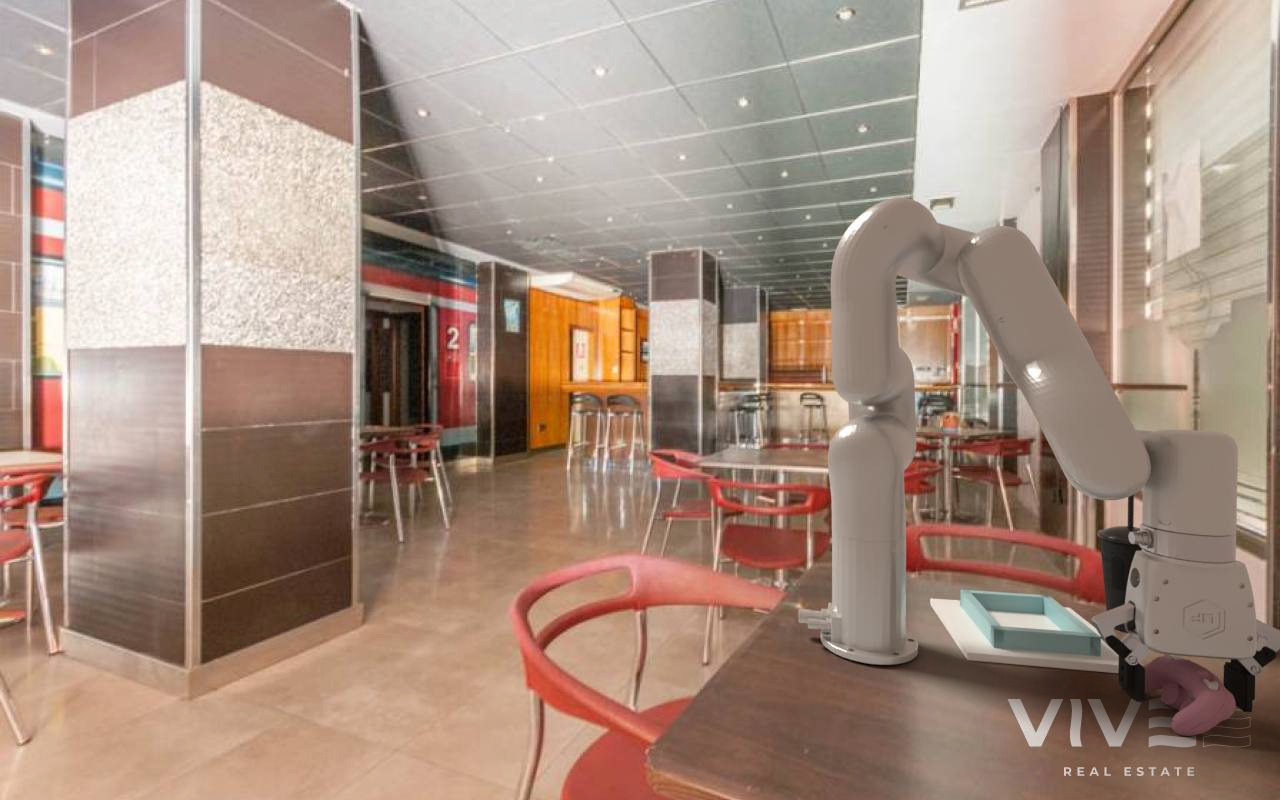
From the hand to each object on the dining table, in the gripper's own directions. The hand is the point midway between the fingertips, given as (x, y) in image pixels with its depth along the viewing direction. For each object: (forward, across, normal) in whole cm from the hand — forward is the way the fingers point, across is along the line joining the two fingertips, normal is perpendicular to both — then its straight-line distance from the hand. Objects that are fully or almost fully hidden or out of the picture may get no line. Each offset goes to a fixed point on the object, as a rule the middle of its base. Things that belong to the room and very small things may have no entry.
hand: (1184, 700), depth 66 cm
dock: (+2, -9, +19) cm, 21 cm away
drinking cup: (+2, +7, +25) cm, 26 cm away
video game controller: (+2, -1, 0) cm, 2 cm away
